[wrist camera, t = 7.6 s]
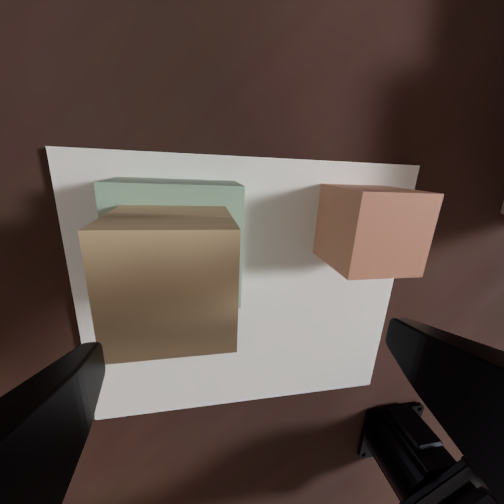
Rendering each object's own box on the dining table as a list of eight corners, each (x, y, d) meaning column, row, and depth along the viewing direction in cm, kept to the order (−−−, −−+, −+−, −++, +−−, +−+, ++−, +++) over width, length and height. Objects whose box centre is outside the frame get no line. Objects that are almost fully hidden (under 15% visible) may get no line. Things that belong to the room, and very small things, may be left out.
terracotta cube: (372, 251, 21) (422, 277, 17) (312, 252, 20) (347, 280, 16) (385, 185, 20) (444, 193, 15) (321, 183, 19) (362, 191, 14)
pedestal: (232, 280, 20) (240, 308, 16) (128, 284, 18) (111, 316, 15) (234, 180, 17) (245, 186, 14) (117, 176, 16) (93, 181, 12)
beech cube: (224, 294, 15) (236, 352, 11) (130, 298, 14) (99, 365, 10) (225, 205, 14) (240, 229, 9) (120, 205, 13) (77, 230, 8)
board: (366, 379, 26) (369, 384, 26) (97, 413, 22) (95, 420, 21) (413, 165, 20) (420, 165, 20) (50, 146, 15) (45, 146, 15)
